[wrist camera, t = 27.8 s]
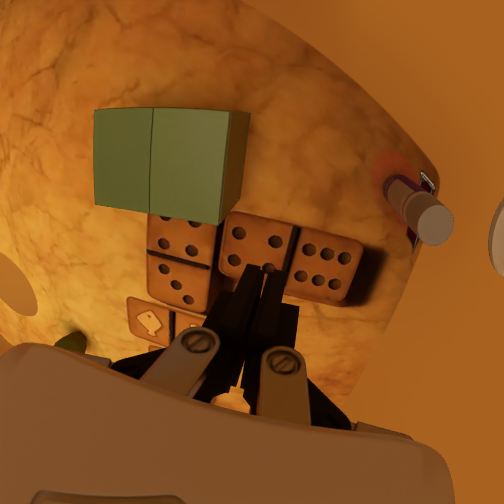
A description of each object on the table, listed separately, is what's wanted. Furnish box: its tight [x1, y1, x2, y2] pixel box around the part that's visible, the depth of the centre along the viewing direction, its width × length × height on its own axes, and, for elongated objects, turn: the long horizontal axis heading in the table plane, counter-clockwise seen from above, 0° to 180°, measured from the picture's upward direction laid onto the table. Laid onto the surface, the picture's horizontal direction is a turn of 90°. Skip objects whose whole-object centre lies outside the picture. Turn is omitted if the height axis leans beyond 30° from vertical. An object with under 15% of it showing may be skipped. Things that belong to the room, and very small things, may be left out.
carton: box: [93, 107, 250, 223], centre depth 37 cm, size 18×13×11 cm
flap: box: [150, 108, 230, 225], centre depth 31 cm, size 9×13×1 cm
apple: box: [54, 333, 87, 353], centre depth 63 cm, size 9×8×12 cm
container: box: [383, 174, 454, 246], centre depth 32 cm, size 5×5×15 cm
